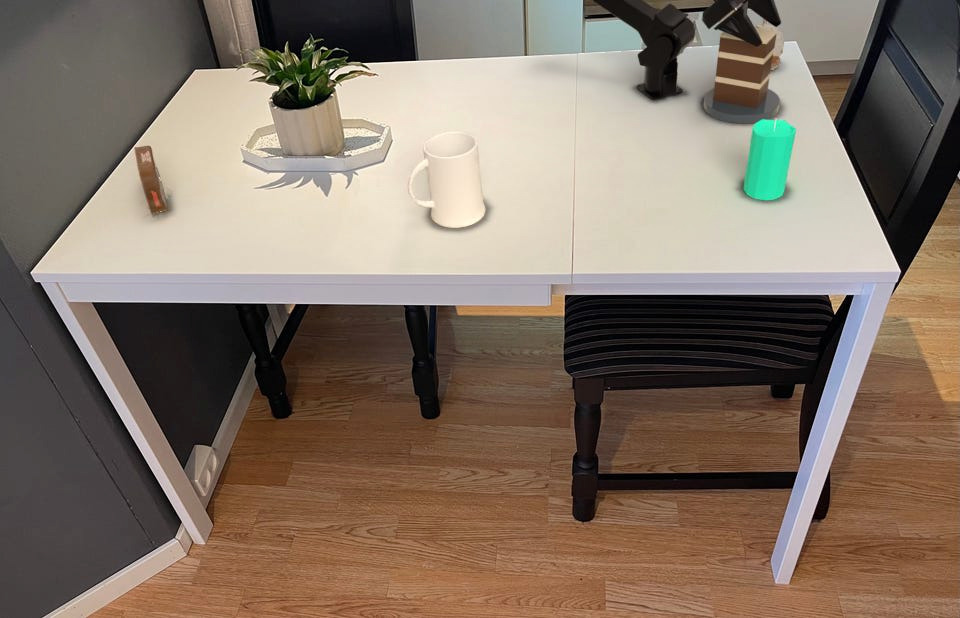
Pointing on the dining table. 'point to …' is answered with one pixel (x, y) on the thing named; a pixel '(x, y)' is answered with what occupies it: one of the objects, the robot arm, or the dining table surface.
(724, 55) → the cake slice
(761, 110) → the plate
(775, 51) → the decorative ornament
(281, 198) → the dining table surface
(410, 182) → the mug
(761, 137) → the candle
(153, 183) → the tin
